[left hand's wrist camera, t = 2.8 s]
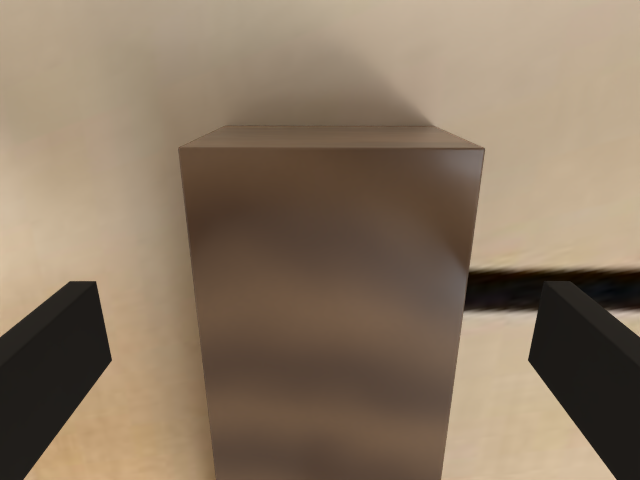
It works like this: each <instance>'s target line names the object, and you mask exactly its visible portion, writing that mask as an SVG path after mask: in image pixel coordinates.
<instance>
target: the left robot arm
mask: <svg viewBox="0 0 640 480" xmlns="http://www.w3.org/2000/svg"><path fill="white" fill-rule="evenodd" d="M111 361H112V358H111V353H110V348H109V343H108V338H107V333H106V328H105V323H104V318H103V314H102V309H101V304H100V299H99V294H98V289H97V284H96V281H70V282H68V283H67V284H66V285H65V286H63V287H62V288H61V289H60V290H59V291H57V292H56V293H55V294H54V295H52V296H51V297H50V298H49V299H47V300H46V301H45V302H44V303H42V304H41V305H40V306H39V307H37V308H36V309H35V310H34V311H32V312H31V313H30V314H29V315H27V316H26V317H25V318H24V319H22V320H21V321H20V322H19V323H17V324H16V325H15V326H14V327H12V328H11V329H10V330H9V331H8V332H6V333H5V334H4V335H3V336H1V337H0V480H23V479H24V478H25V477H26V475H27V474H28V473H29V471H30V470H31V469H32V467H33V466H34V465H35V463H36V462H37V461H38V459H39V458H40V456H41V455H42V454H43V452H44V451H45V450H46V448H47V447H48V446H49V444H50V443H51V442H52V440H53V439H54V438H55V436H56V435H57V434H58V432H59V431H60V430H61V428H62V427H63V426H64V424H65V423H66V421H67V420H68V419H69V417H70V416H71V415H72V413H73V412H74V411H75V409H76V408H77V407H78V405H79V404H80V403H81V401H82V400H83V399H84V397H85V396H86V395H87V393H88V392H89V391H90V389H91V388H92V386H93V385H94V384H95V382H96V381H97V380H98V378H99V377H100V376H101V374H102V373H103V372H104V370H105V369H106V368H107V366H108V365H109V364H110V362H111ZM528 361H529V362H530V364H531V365H532V366H533V368H534V369H535V370H536V372H537V373H538V374H539V376H540V377H541V378H542V380H543V381H544V382H545V384H546V385H547V386H548V388H549V389H550V391H551V392H552V393H553V395H554V396H555V397H556V399H557V400H558V401H559V403H560V404H561V405H562V407H563V408H564V409H565V411H566V412H567V413H568V415H569V416H570V417H571V419H572V420H573V421H574V423H575V424H576V426H577V427H578V428H579V430H580V431H581V432H582V434H583V435H584V436H585V438H586V439H587V440H588V442H589V443H590V444H591V446H592V447H593V448H594V450H595V451H596V452H597V454H598V455H599V456H600V458H601V459H602V461H603V462H604V463H605V465H606V466H607V467H608V469H609V470H610V471H611V473H612V474H613V475H614V477H615V478H616V479H617V480H640V337H639V336H637V335H636V334H635V333H634V332H632V331H631V330H630V329H629V328H628V327H626V326H625V325H624V324H623V323H621V322H620V321H619V320H618V319H616V318H615V317H614V316H613V315H611V314H610V313H609V312H608V311H606V310H605V309H604V308H603V307H601V306H600V305H599V304H598V303H596V302H595V301H594V300H593V299H591V298H590V297H589V296H588V295H586V294H585V293H584V292H583V291H581V290H580V289H579V288H578V287H577V286H575V285H574V284H573V283H572V282H570V281H544V284H543V289H542V294H541V299H540V304H539V309H538V313H537V318H536V323H535V328H534V333H533V338H532V343H531V348H530V353H529V358H528Z"/></svg>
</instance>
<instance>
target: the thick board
mask: <svg viewBox="0 0 640 480" xmlns="http://www.w3.org/2000/svg"><path fill="white" fill-rule="evenodd" d="M178 151H179V159H180V168H181V177H182V186H183V194H184V203H185V212H186V220H187V229H188V238H189V247H190V255H191V264H192V273H193V282H194V290H195V299H196V308H197V317H198V325H199V334H200V343H201V351H202V360H203V369H204V378H205V386H206V395H207V404H208V413H209V421H210V430H211V439H212V448H213V456H214V465H215V474H216V480H441V475H442V467H443V460H444V452H445V445H446V438H447V430H448V423H449V415H450V408H451V400H452V393H453V385H454V378H455V370H456V363H457V355H458V348H459V340H460V333H461V325H462V318H463V310H464V303H465V295H466V288H467V280H468V273H469V265H470V258H471V250H472V243H473V235H474V228H475V220H476V213H477V206H478V198H479V191H480V183H481V176H482V168H483V161H484V153H485V148H483V147H481V146H478V145H476V144H474V143H472V142H469V141H467V140H465V139H462V138H460V137H458V136H456V135H453V134H451V133H449V132H446V131H444V130H442V129H440V128H437V127H435V126H224V127H222V128H220V129H217V130H215V131H213V132H211V133H209V134H207V135H205V136H202V137H200V138H198V139H196V140H194V141H192V142H190V143H187V144H185V145H183V146H181V147H179V149H178Z"/></svg>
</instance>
